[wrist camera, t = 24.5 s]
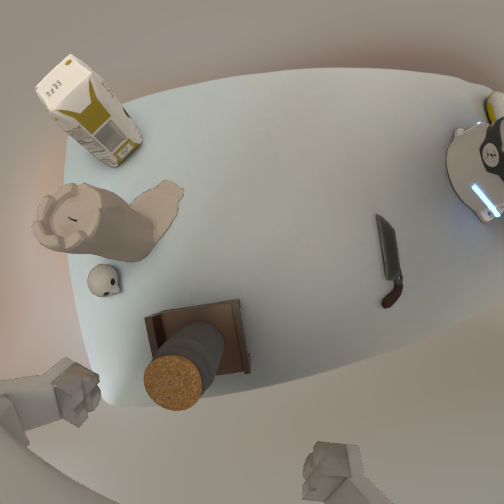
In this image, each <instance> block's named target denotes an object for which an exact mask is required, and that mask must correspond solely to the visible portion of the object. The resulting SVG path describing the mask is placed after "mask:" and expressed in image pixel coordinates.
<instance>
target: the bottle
mask: <svg viewBox="0 0 504 504" xmlns="http://www.w3.org/2000/svg"><path fill="white" fill-rule="evenodd" d="M223 352H224V339H223V336H222V334H221V333H220V331H219V330H218V329H217V328H216V327H215V326H213V325H212V324H209V323H207V322H194V323H191V324H189V325H187V326H186V327H184V328H183V329H182V330H180V331H179V332H178V333H177V334H175V335H174V336H173V337H171V338H170V339H169V340H167V341H166V342H165V343H164V344H163V345H162V346H161V347H160V348H159V350H158V351H157V353H156V356H155V357H154V358H153V359H152V361H151V363H150V364H149V365H148V367H147V368H146V370H145V373H144V385H145V389H146V391H147V393H148V395H149V396H150V398H151V399H152V400H153V401H154V402H155V403H157V404H158V405H160V406H161V407H163V408H165V409H169V410H174V411H180V410H185V409H188V408H190V407H192V406H193V405H195V403H196V402H197V401H198V400H199V398H200V397H201V396H202V395H203V393H204V392H205V391H206V390H207V389H208V388H209V387H210V386H211V384H212V382H213V380H214V378H215V375H216V373H217V370H218V367H219V364H220V361H221V358H222V355H223Z"/></svg>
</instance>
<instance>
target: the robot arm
mask: <svg viewBox="0 0 504 504" xmlns="http://www.w3.org/2000/svg"><path fill="white" fill-rule="evenodd" d="M446 163H447V170H448V174H449V177H450V180H451V183H452V185H453V187H454V189H455V191H456V192H457V194H458V195H459V197H460V198H461V199H462V201H463V202H464V203H465V204H466V205H467V206H469V207H470V208H471V209H473V210H474V211H475V212H476V214H477V215H478V217H479V218H480V220H481V221H482V222H484V223H486V222H488V221H490V220H492V219H493V218H495V217H499V216H500V214H501V213H503V212H504V117H501V118H500V119H497V120H495V121H494V122H493V123H492V124H487V123H484V122H479V123H478V124H477V125H475V126H473V127H472V128H470V129H468V130H465V129H462V128H458V129H456V130H455V132H454V140H453V142H452V143H451V144H450V146H449V148H448V151H447V156H446ZM99 382H100V381H99V375H98V374H96V373H95V372H93V371H91V370H89V369H87V368H85V367H84V366H82V365H80V364H78V363H76V362H74V361H73V360H71V359H69V358H67V357H66V358H63V359H61V360H60V361H59V362H58V363H57V364H55V365H54V366H53V367H52V368H50V369H49V370H48V371H47V372H46V373H44V374H43V375H42V376H41V377H40V376H39V375H35V376H29V377H22V378H15V379H7V380H0V504H119V503H117V502H115V501H113V500H111V499H109V498H106V497H104V496H103V495H101V494H99V493H97V492H95V491H93V490H91V489H89V488H87V487H86V486H84V485H82V484H80V483H79V482H77V481H75V480H74V479H72V478H70V477H69V476H67V475H66V474H64V473H62V472H61V471H59V470H57V469H56V468H55V467H53V466H52V465H50V464H49V463H47V462H46V461H44V460H43V459H42V458H40V457H39V456H38V455H36V454H35V453H33V452H32V451H31V450H30V449H28V448H27V446H28V445H29V440H28V438H27V436H26V434H25V431H27V430H30V429H34V428H37V427H39V426H42V425H45V424H48V423H51V422H54V421H57V420H60V419H62V418H63V419H65V420H66V421H68V422H70V423H71V424H73V425H75V426H77V427H80V426H81V425H82V423H84V421H85V420H86V419H87V418H88V415H87V412H91V411H94V410H95V408H96V407H97V406H98V403H99V401H100V397H101V391H100V389H99V387H98V385H97V384H98V383H99ZM313 449H314V452H313V453H310V454H309V455H308V457H307V458H306V460H305V463H304V467H303V477H304V479H305V480H306V481H305V483H304V484H303V485H302V499H303V500H312V501H322V502H324V503H325V504H393V503H392V502H391V501H390V500H389V499H388V498H387V497H386V496H385V495H384V494H383V493H382V492H381V491H380V490H379V489H378V488H377V487H376V486H375V485H374V484H373V483H372V482H371V481H370V480H369V479H368V478H365V477H364V472H363V465H362V460H361V455H360V450H359V447H358V445H348V444H339V443H330V442H321V441H318V442H317V443H316V444H315V445H314V447H313Z"/></svg>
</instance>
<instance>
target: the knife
mask: <svg viewBox="0 0 504 504" xmlns="http://www.w3.org/2000/svg"><path fill="white" fill-rule="evenodd" d="M376 215H377V220H378V225H379V231H380V237H381V243H382V249H383V256H384V263H385V270H386V278H387V279H388V280H395V282H396V285H395V289H394V291H393V292H391V293H390V294H389V295H387V296H386V297H385V298H384V299H383V301H382V306H383V307H384V308H389V307H391V306H392V305H393V304H394V303H395V302H396V301H397V299H398V298H399V297H400V295H401V292H402V289H403V284H402V282H403V276H402V272H401V269H400V263H399V255H398V249H397V242H396V236H395V231H394V228H392V226H391V225H390V224H389V222H387V221H386V220H385V219H384V218H383V217H382V216H380V215H378V214H376ZM398 276H400V280H398Z"/></svg>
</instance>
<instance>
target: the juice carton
mask: <svg viewBox="0 0 504 504" xmlns="http://www.w3.org/2000/svg"><path fill="white" fill-rule="evenodd" d="M34 90H35V91H36V93H37V95H38V97H39V99H40V101H41V103H42V104H43V106H44V107H45V109H46V110H47V111H48V112H49V113H50V115H51V117H52V119H53V120H54V121H55V122H56V124H57V125H58V126H59V127H60V128H62V129H63V130H64V131H65V132H67V133H68V134H69V135H70V136H71V137H72V138H74V139H75V140H76V141H77V142H78V143H80V144H81V145H82V146H83V147H84V148H86V149H87V150H88V151H89V152H90V153H92V154H93V155H94V156H95V157H97V158H98V159H99V160H100V161H102V162H103V163H105V164H107V165H110V166H112V167H115V168H116V167H117V166H118V165H119V164H120V163H121V162H122V161H123V160H124V159H125V158H126V157H127V156H128V155H129V154H130V153H131V152H132V151H133V150H134V149H135V148H136V147H138V146H139V145H140V144H141V143H142V138H141V135H140V132H139V130H138V128H137V126H136V125H135V123H134V122H133V120H132V119H131V118H130V116H129V115H128V113H127V112H126V111H125V109H124V108H123V106H122V105H121V104H120V102H119V101H118V99H117V98H116V97H115V95H114V94H113V92H112V91H111V90H110V88H109V87H108V85H107V84H106V83H105V81H104V80H103V79H102V78H101V77H100V76H99V75H98V74H96V73H95V72H93V70H92V69H91V68H90V67H89V66H88V65H86V64H85V63H84V62H82V61H81V60H79V59H78V58H76V57H74V56H73V55H72V54H70V55H69V56H67V57H66V58H65V59H64V60H62V61H61V63H59V64H58V65H57V66H56V67H55V68H54V69H53V70H52V71H51V72H50V73H49V74H48V75H47V76H46V77H45V78H44V79H43V80H42V81H41V82H40V83H39V84H38V85H37V86H36V87H35V89H34Z"/></svg>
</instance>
